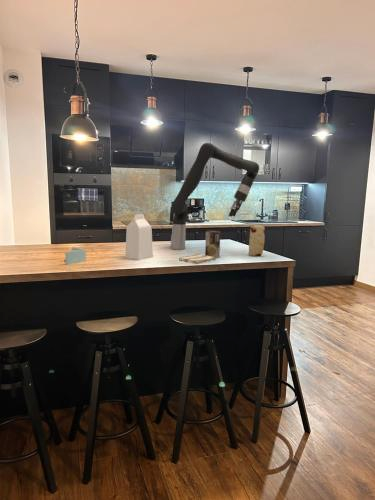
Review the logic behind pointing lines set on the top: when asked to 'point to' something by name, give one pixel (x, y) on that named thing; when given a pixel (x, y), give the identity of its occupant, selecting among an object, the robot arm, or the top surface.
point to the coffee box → (212, 244)
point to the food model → (256, 240)
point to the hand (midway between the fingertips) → (231, 216)
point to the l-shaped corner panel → (75, 256)
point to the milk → (139, 239)
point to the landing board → (197, 258)
